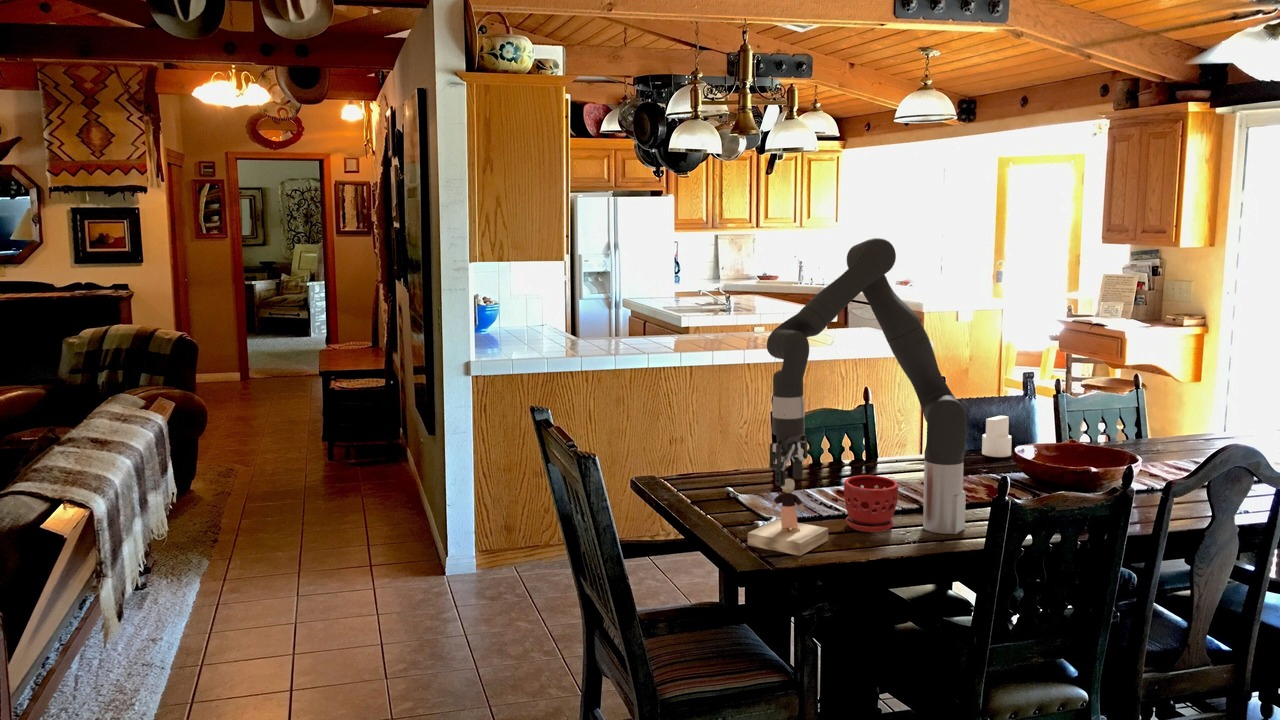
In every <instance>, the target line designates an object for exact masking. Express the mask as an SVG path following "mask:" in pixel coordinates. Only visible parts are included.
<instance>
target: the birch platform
mask: <svg viewBox="0 0 1280 720" xmlns="http://www.w3.org/2000/svg"><path fill="white" fill-rule="evenodd" d="M797 527H798V528H799V529H800V531H799V532H796V533H792V532H790V531H791V529H792V528H789V529H790V530H789V531H788V532H782V531H781V529H782V526H781V518H780V519H778V518H776V519H774V520H772V521H770V522H768V523H766V524H764V525H761V526H758V528H755V529H753V530H751V531H749V532H747V546H748V547H749V546H751V547H755V548H760V549H765V550H770V551H773V552H774V551H776V552H779V553H786V554H789V555H794V556H800V557H801V556H803V555H804V554H807V553H808V552H810V551H811V550H814V549H815V548H817V547H818V546H821V545H823V544H825V543H826V542H828V541H829V527H823V526H818V525H813V524H807V523H802V522H797Z"/></svg>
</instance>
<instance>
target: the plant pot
mask: <svg viewBox="0 0 1280 720" xmlns="http://www.w3.org/2000/svg"><path fill="white" fill-rule="evenodd" d="M843 483H844V484H843V497H844V498H843V499H844V505H845V509H846V512H847V514H848V516H847V517H846V518H845V522H846V524H847V525H848V526H849V527H850V528H851V529H853V530H856V531H859V532H863V533H882V532H886V531H888V530H890V529H892V528H893V526H894V520H893V519H892V518H893V515H894V514H895V512H896V508H897V505H898V497H899V483H898V482H897V481H896V480H894V479H892V478H889V477H886V476H880V475H871V474H869V475H867V474H863V475H862V474H860V475H854V476H850V477H847V478H845V480H844V482H843ZM862 486H863V487H862ZM875 487H878V488H875Z"/></svg>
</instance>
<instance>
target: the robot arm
mask: <svg viewBox="0 0 1280 720" xmlns="http://www.w3.org/2000/svg"><path fill="white" fill-rule="evenodd" d="M896 254H897V253H896V250H895V247H894V246H893V244H892V243H891V242H890V241H888V240H887V239H885V238H881V237H877V238H876V237H874V238H870V239H867V240H865V241H861V242H860V243H857V244H855V245H853V246H851V248H849V250H848V251H847V255H846V267H847V269H846V270H845V271H844V272H843V273H842V274H841V275H840V276H839V277H837V278H836V279H835V280H834V281H832V282H831V283H829V284H828V285H827V286H826V287H824V288H823V289H822V290H820V291H819V292H818V293H816V294H815V296H813V297H812V298H811V299H810V300H809V302H808V301H807V303H806V304H805V305H804V307H802V308H801V310H800V311H799V312H797V313H796V314H795V315H792V316H791V317H790V318H788V319H787V320H785V321H784V322H782V323H781V324H779V325H778V326H777V327H775V328H774V329H773V330H772V331H771V333H770V334H769V335H768V337H767V341H766V350H767V352H768V354H769V355H770V356H771V357H772V358H775V359H779V360H782V361H783V362H782V365H781V369H779V370H777V371H776V372H774V373H773V376H772V404H771V405H772V407H771V410H772V411H771V412H772V413H771V415H772V416H771V419H772V424H771V425H772V426H771V427H772V428H771V429H772V430H771V431H772V435H774V436H776V437H777V442H776V443H775V442H770V444H769V465H768V466H769V469H771V470H774V477H775V478H774V480H775V481H774V482H775V483H774V484H775V486H776V487H781V486H784V485H785V479H786V467H787V464H788V463H789V462H790V460H792V479H797V480H800V479H802V478H803V463H804V462H805V460H807V459H808V457H809V456H808V455H809V454H808V439H807V438H808V436H807V434H805V432H806V431H805V429H806V426H805V425H806V423H805V420H806V418H805V413H806V412H805V407H806V406H805V399H804V376H805V372H806V369H807V364H808V360H809V355H810V344H809V343H810V342H809V340H808V338H809V337H815V336H817V335H819V334H821V333H822V332H823V331H824V330H825V329H826V328H827V326H829V324H831V323H832V322H833V320H835V319H836V317H837V316H838V315H839V314H840V313H841V312H842V311H843V310H844V309H845V308H846V307H847V306H848V305H849V304H850V303H851V302H853V300H854V299H856V297H857V296H859V294H861V293H862V294H863V296H864V297H865V299H866V300H867V303H868V304H869V306H870V309H871V311H872V312H873V314H874V317H875V319H876V320H877V322H878V324H879V326H880V329H881V330H882V332H883V335H884V338H885V340H886V343H888V346H889V347H890V349H891V351H892V353H893V355H894V358H895V359H896V361H897V363H898V364H899V366H900V368H901V370H903V372H904V374H905V375H906V377H907V378H908V380H909V381H910V383H911V385H912V387H913V389H914V392H915V394H916V396H917V399H918V402H919V405H920V407H921V411H922V414H923V417H924V419H925V420H924V421H925V422H926V444H925V445H926V446H925V449H924V461H923V462H924V464H923V465H924V466H923V467H924V468H923V469H924V470H923V512H922V513H923V516H922V517H923V518H922V522H923V524H922V528H923V529H924V530H925V531H927V532H931V533H935V534H944V535H948V534H949V535H957V534H958V533H961V532H962V531H964V529H965V528H966V499H967V498H966V494H967V492H966V490H964V459H965V458H964V457H965V453H966V449H967V427H968V424H967V421H968V420H967V412H966V409H965V407H964V406H963V404H962V403H961V402H960V401H959V400H958V399H957V397H955V395H954V394H953V393H952V391H951V389H950V388H949V386H948V384H947V382H946V381H945V379H944V378H943V375H942V374H941V371H940V370H939V369H940V368H939V366H938V362H937V358H936V356H935V351H934V348H933V345H932V342H931V340H930V338H929V336H928V334H927V332H926V329H925V327H924V326H923V323H922V321H921V319H920V317H919V316H918V315H917V313H915V311H913V309H911V307H910V306H909V305H908V304H906V302H905V301H903V300H902V299H901V298H900V297H899V295H897V294H896V292H895V291H894V290H893V288H892V286H891V285H890V283H889V280H888V279H887V276H886V275H885V274H887V273H889V272H890V271H891V270H892V269H893V267H894V266H895V263H896V258H897V255H896Z"/></svg>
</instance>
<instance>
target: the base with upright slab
mask: <svg viewBox="0 0 1280 720" xmlns="http://www.w3.org/2000/svg"><path fill="white" fill-rule="evenodd" d="M1009 418H1010V416H1007V415H996V416H993V417H989V418H986V419H985V433H984V434H982V437H981V442H982V443H981V445H982V446H981V454H982V455H984V456H986V457H991V458H992V457H993V458H1005V457H1006V458H1007V457H1011V456H1012V435H1010V434H1009V422H1010V419H1009Z"/></svg>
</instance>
